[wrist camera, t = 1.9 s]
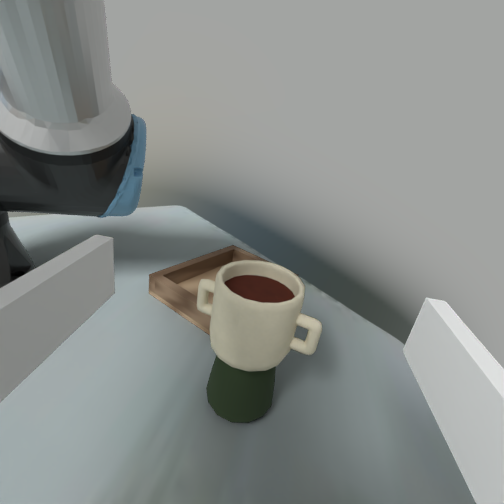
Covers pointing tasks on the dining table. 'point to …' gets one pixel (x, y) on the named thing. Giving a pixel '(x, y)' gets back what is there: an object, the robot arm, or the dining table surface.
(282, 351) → the character mug
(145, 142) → the robot arm
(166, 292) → the wooden tray
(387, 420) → the dining table surface
